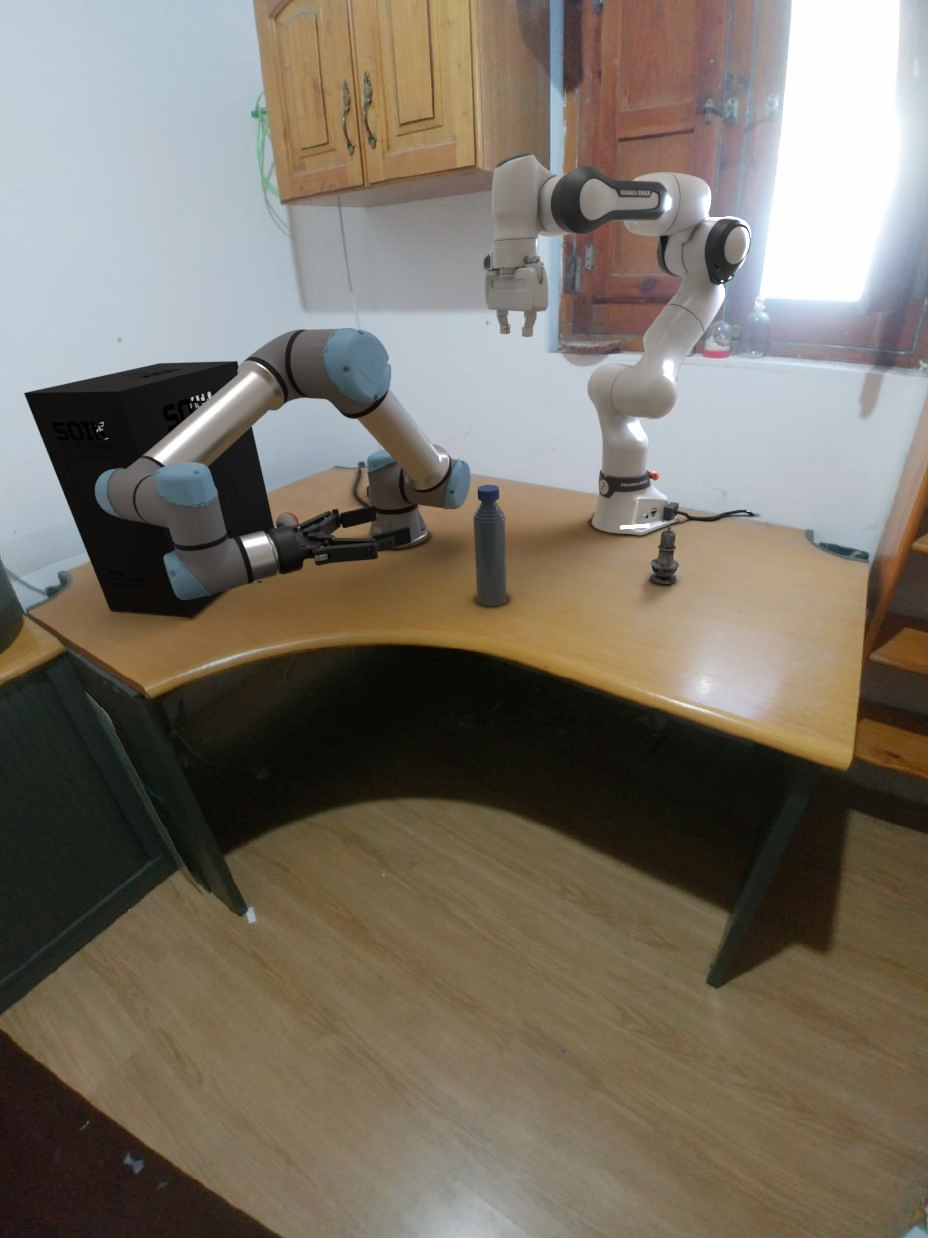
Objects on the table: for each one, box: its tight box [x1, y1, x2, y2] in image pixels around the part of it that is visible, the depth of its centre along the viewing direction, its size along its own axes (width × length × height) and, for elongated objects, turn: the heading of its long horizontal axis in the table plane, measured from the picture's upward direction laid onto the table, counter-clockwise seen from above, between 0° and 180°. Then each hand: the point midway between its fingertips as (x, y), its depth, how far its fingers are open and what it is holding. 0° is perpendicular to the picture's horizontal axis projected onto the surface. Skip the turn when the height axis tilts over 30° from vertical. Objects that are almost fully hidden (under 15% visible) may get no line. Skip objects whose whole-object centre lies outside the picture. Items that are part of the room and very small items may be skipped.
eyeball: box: [275, 511, 300, 528], centre depth 163 cm, size 6×6×6 cm
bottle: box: [472, 500, 508, 608], centre depth 121 cm, size 6×6×24 cm
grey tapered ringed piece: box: [649, 526, 680, 585], centre depth 128 cm, size 6×6×12 cm
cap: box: [477, 484, 500, 502], centre depth 115 cm, size 4×4×2 cm
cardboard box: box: [23, 360, 275, 618], centre depth 133 cm, size 38×20×45 cm, turn 167°
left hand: (391, 522), depth 106 cm, fingers open, 13 cm apart
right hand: (516, 335), depth 125 cm, fingers open, 8 cm apart
